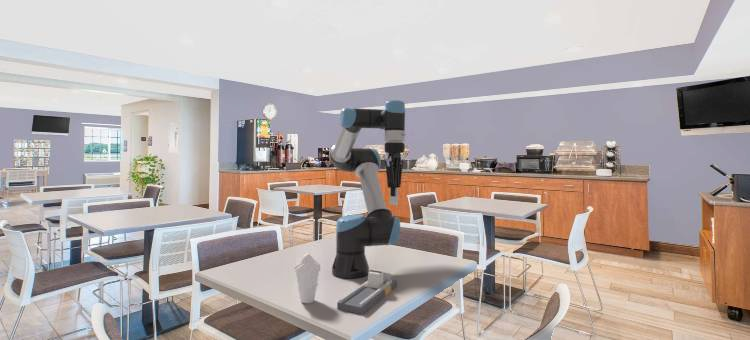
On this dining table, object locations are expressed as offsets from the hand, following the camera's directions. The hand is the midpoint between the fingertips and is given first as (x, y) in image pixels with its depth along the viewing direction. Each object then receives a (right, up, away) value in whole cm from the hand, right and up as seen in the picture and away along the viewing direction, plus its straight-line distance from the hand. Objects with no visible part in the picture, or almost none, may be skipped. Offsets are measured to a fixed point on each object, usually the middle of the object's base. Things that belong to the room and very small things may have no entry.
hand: (394, 204), depth 137 cm
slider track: (-9, -30, -14) cm, 34 cm away
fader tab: (-7, -28, -10) cm, 30 cm away
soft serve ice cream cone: (-29, -30, -18) cm, 46 cm away
